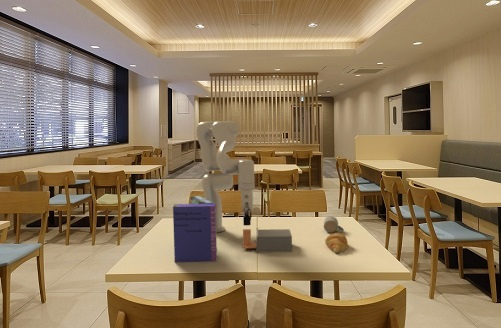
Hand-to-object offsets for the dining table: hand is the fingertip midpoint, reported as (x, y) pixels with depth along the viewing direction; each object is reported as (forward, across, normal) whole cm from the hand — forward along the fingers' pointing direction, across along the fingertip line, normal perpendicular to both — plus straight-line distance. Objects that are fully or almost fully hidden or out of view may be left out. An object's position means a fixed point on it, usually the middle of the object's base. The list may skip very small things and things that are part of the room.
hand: (247, 222), depth 172 cm
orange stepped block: (+11, +1, -6) cm, 13 cm away
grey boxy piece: (+12, +1, -12) cm, 17 cm away
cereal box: (+12, -15, +22) cm, 29 cm away
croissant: (+13, +1, -41) cm, 43 cm away
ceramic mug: (+12, +28, -46) cm, 55 cm away
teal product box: (+12, +3, +22) cm, 25 cm away
